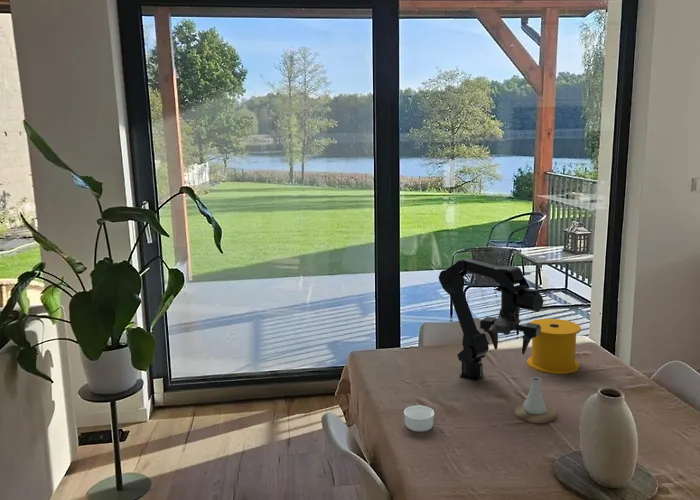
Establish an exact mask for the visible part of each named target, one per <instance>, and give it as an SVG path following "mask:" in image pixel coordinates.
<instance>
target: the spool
mask: <svg viewBox="0 0 700 500" xmlns="http://www.w3.org/2000/svg"><path fill="white" fill-rule="evenodd" d="M528 323H533V324H539V325H540V326H541V333H540V334H539V335H538V336H537V337H533V338H532V339H531V356H530V357H528V358H527V361H526V362H527V365H528V367H530V368H531V369H533V370H535V371H539V372H542V373H546V374H554V375H563V374H571V373H575V372H577V371H578V370H579V368H580V363H579V362H578V361H577V360H576V350H577V334H579V333H581V332H582V326H580V325H579V324H578V323H576V322H573V321H571V320H566V319H559V318H539V319H534V320H531V321H530V322H528Z"/></svg>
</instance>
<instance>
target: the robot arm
mask: <svg viewBox="0 0 700 500" xmlns="http://www.w3.org/2000/svg"><path fill="white" fill-rule="evenodd" d="M468 273H471V274H476V275H478V276H481V277H486V278H489V279H492V280H493V281H494V282H495V283H496V284H498V286H497V287H495V291H497V292H500V293H501V296H500V299H501V302H500V309H499V313H498V316H497V317H491V316H486V317H484V318H483V319H481V320H480V322H479V329H480V330H483V333H482V332H480V331H479V330H478V329H477V325H476V322H475V320H474V317H473V314H472V311H471V309H470V305H469V303H468V299H467V297H466V295H465V292H464V289H465V279H464V278H465V276H466V275H468ZM438 281H439V283H440V284H441V288H442V289H443V290H444V291H445V292H446V293H447V294H448V295H449V297H450V299H451V302H452V305H453V308H454V312H455V314H456V316H457V319H458V322H459V326H460V328H461V330H462V334H463V337H462V348H463V349H462V350H461V351H460V352H459V353H458V354H457V358H458V361H460V362H461V374H459V378H465V379H469V380H473V381H477V380H479V379H480V378H481V377H482V376H483V375H484V364H483V362H482V360H483V359H484V358H485V356H486V355H487V353H488V351H489V349H490V347H489V344H490V343H489V341H488V339H487V335H486V333H487V334H488V335H489V337H490V339H491V342H492V345H493V349H494V350H498V345H499V344H498V342H499V334H504V335H510V334H511V332H516V331H519V332H522V334H523V335H522V347H521V355H522V356H523V355H525V353H526V351H527V348H528V346H529V344H530V342H531V341H532V338H533V337H537V336H538V335H539V334H540V333H541V326H540V325H539V324H533V323H529V322H528V323H527V324H526V325H522V324H520V323H521V319H520V312H521V309H522V310H527V311H531V312H535V313H538V312H540V311H541V310H542V308H543V306H544V299H543V295H542V294H541V293H540V290H539V289H534V288H533V289H532V288H531V287H530V285H529V282H528V281H527V279H526V278H525V275H524V274H523V271H522V269H521V268H520V267H518V266H513V265H512V266H511V265H510V266H509V265H502V266H501V265H500V266H499V265H495V264H492V263H487V262H484V261H479V260H476V259H472V258H471V257H464V258H460V259H458V261H457V262H456V263H455V262H454V263H453V264H452V265H451V266H449V267H447V268H446V269H443V270H442V271H440V273H439V276H438Z"/></svg>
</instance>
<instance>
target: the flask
mask: <svg viewBox="0 0 700 500" xmlns="http://www.w3.org/2000/svg"><path fill="white" fill-rule="evenodd" d="M542 380H543V379H542V378H541V377H539V376H532V377H530V381H531V382H530V387H529V388H530V389H529V391H528V393H527V396H526V398H525V399H524V401H523V402H524V404H523V409H524V411H526V412H528V413H530V414H540V415H541V414H544V413H547V412H548V410H547V407H546V405H545V404H546V402H545V399H544V396H543V393H542V387H541V383H542Z"/></svg>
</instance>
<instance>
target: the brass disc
mask: <svg viewBox="0 0 700 500" xmlns="http://www.w3.org/2000/svg"><path fill="white" fill-rule="evenodd" d="M524 402H525V401H523V402H522V401H521V402H519V403H517V404H515V406H514V407H513V414H514V416H515V417H516V418H518V419H520V420H521V421H523V422H527V423H532V424H548V423H551V422H553V421H555V420H556V418H557V411H556V409H555V408H554V407H553V406H551V405H549V404H547V403H545V405H546V407H547V410H548V412H547V413H544V414H541V415H540V414H530V413H528V412H526V411H524V409H523V404H524Z"/></svg>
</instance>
